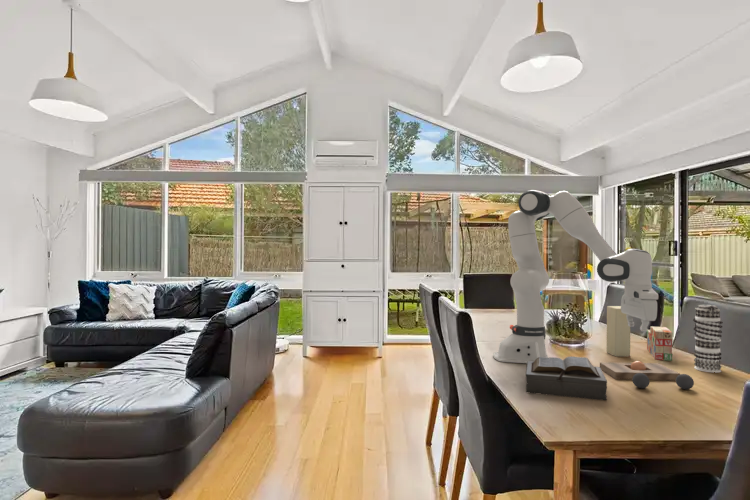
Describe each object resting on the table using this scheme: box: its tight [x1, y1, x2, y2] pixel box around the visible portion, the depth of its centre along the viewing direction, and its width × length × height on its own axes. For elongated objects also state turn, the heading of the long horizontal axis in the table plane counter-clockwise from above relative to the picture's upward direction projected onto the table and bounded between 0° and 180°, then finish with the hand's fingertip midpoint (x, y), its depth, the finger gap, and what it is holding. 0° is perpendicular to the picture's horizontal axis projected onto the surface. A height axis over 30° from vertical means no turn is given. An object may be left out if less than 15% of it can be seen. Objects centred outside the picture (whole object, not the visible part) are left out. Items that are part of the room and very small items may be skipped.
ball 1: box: [631, 373, 651, 389], centre depth 152 cm, size 5×5×5 cm
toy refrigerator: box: [606, 305, 631, 357], centre depth 199 cm, size 8×7×21 cm
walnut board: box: [599, 361, 681, 381], centre depth 168 cm, size 22×14×2 cm, turn 85°
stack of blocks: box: [646, 325, 673, 362], centre depth 199 cm, size 21×6×12 cm, turn 157°
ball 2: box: [675, 373, 695, 390], centre depth 150 cm, size 5×5×5 cm
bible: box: [525, 356, 608, 401], centre depth 152 cm, size 23×27×10 cm
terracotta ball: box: [631, 360, 646, 370], centre depth 168 cm, size 5×5×5 cm
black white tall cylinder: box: [692, 304, 723, 374], centre depth 174 cm, size 9×9×25 cm
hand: (637, 328), depth 168 cm, fingers open, 8 cm apart
